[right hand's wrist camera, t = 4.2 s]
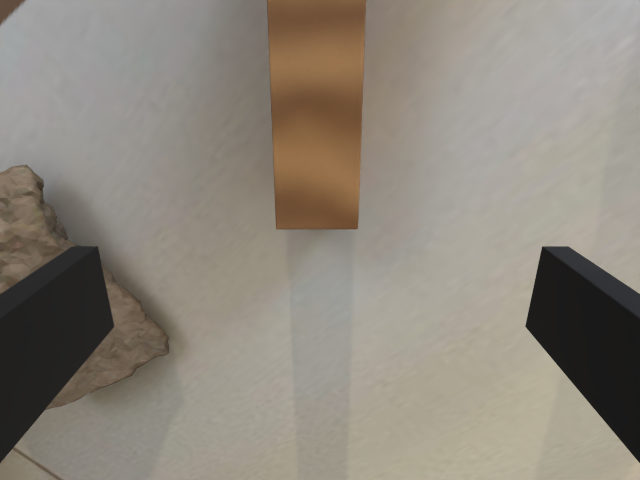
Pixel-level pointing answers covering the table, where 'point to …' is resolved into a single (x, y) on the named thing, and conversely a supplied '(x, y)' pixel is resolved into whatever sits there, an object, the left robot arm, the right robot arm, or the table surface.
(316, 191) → the bar
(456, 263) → the table surface
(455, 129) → the table surface
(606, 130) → the table surface
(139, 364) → the stone
